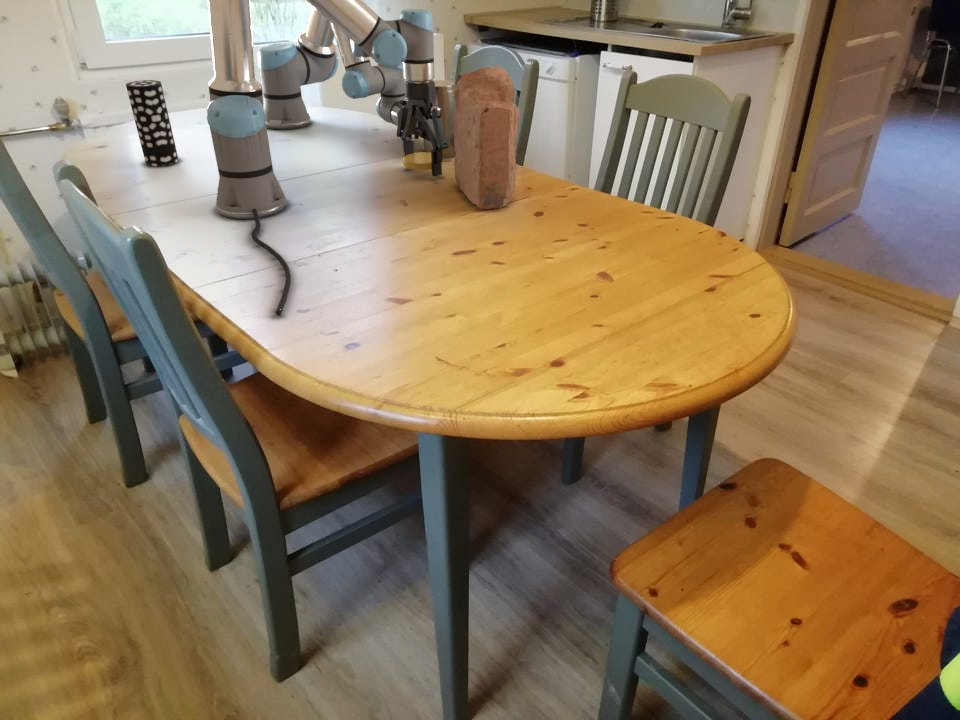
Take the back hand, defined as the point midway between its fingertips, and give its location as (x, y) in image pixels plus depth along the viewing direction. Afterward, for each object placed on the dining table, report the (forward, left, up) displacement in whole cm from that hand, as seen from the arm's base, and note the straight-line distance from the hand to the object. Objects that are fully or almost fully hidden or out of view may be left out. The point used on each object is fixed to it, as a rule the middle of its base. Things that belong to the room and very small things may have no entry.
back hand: (447, 134), depth 190 cm
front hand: (+3, -16, -5) cm, 17 cm away
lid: (+3, -16, -2) cm, 16 cm away
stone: (+25, -21, -6) cm, 33 cm away
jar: (-4, +2, -6) cm, 8 cm away
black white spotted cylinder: (-62, -47, +4) cm, 78 cm away
